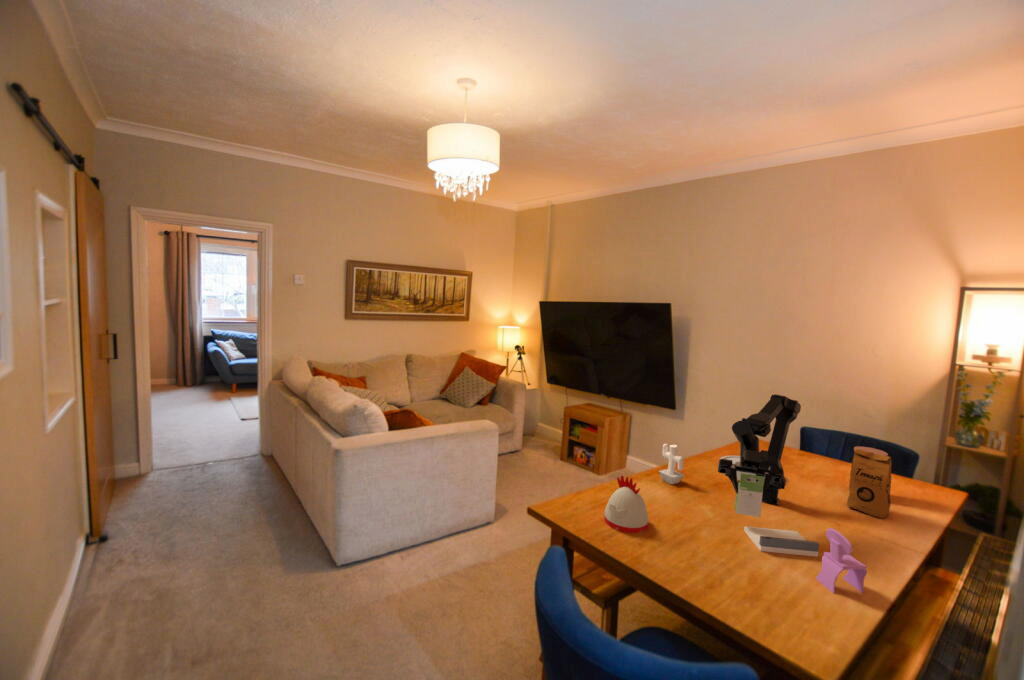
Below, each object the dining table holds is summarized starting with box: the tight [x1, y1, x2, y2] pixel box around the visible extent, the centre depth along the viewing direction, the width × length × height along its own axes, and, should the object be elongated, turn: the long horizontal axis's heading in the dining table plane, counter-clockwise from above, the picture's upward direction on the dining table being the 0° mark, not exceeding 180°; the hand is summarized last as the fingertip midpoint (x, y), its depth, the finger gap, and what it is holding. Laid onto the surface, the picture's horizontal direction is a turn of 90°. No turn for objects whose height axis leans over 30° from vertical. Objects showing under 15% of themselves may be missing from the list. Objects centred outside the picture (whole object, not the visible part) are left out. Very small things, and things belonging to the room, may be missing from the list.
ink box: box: [734, 474, 764, 518], centre depth 147 cm, size 7×4×13 cm, turn 71°
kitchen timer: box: [603, 475, 649, 534], centre depth 149 cm, size 14×14×15 cm
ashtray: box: [718, 455, 756, 482], centre depth 199 cm, size 23×23×4 cm
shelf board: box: [743, 525, 820, 558], centre depth 141 cm, size 12×16×4 cm
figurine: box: [658, 443, 686, 485], centre depth 185 cm, size 7×9×15 cm
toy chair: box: [815, 527, 868, 594], centre depth 120 cm, size 8×9×15 cm
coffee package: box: [846, 449, 892, 520], centre depth 166 cm, size 10×12×22 cm
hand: (749, 495), depth 145 cm, fingers closed on ink box, 7 cm apart
